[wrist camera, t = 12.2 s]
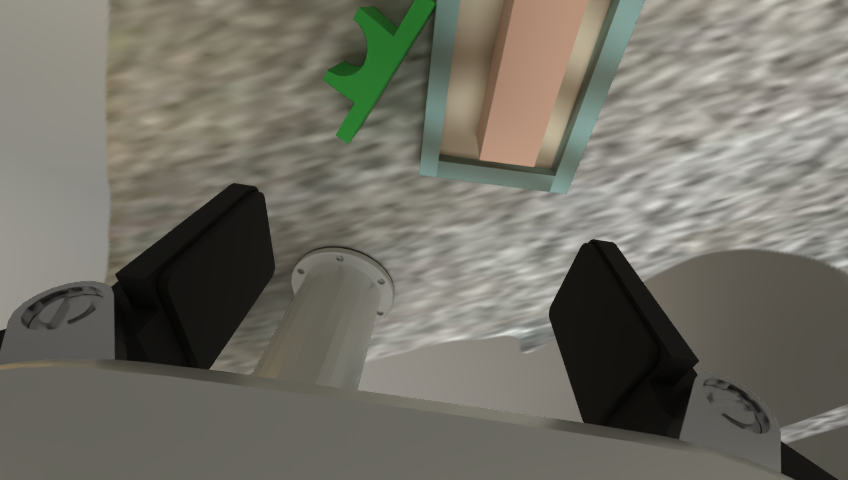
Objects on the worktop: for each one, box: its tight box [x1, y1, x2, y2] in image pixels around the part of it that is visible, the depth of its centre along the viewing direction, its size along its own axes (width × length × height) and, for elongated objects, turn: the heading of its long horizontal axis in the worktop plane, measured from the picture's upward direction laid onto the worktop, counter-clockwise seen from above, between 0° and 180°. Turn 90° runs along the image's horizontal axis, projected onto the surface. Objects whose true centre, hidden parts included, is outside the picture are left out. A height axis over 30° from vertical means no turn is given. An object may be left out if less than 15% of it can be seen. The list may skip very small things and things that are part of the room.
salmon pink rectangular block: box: [476, 0, 588, 167], centre depth 23 cm, size 4×10×5 cm, turn 174°
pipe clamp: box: [323, 0, 437, 144], centre depth 24 cm, size 11×4×5 cm, turn 143°
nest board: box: [419, 0, 645, 194], centre depth 25 cm, size 17×13×2 cm
